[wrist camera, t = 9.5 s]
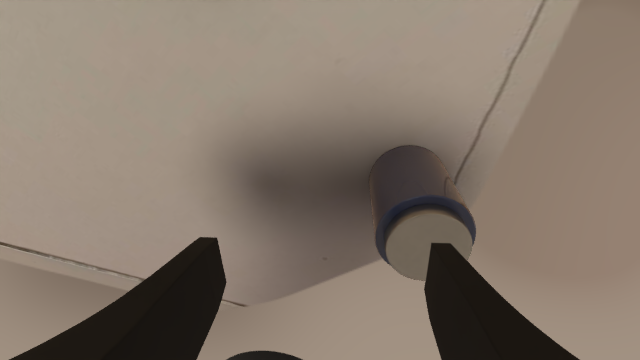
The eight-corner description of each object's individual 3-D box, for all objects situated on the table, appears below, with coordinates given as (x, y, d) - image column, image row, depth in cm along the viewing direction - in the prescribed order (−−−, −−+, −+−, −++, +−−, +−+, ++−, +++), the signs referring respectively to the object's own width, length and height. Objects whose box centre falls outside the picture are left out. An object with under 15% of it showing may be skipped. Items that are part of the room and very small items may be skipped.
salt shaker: (440, 211, 21) (473, 289, 15) (367, 210, 21) (374, 286, 16) (450, 144, 19) (492, 206, 13) (370, 145, 19) (378, 204, 14)
